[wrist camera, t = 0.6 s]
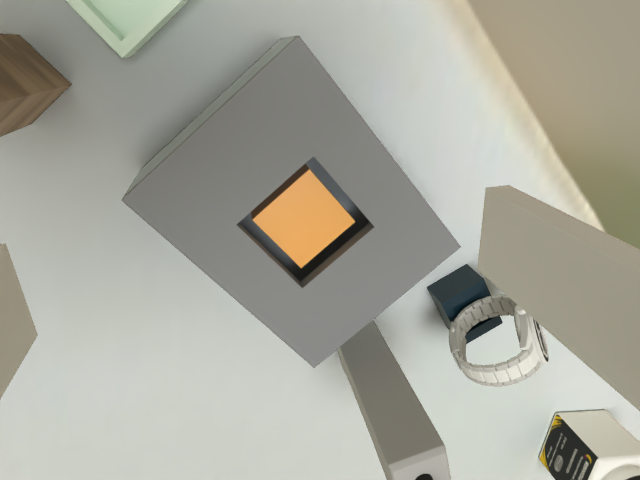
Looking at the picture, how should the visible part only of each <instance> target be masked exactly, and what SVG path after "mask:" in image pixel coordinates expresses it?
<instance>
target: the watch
mask: <svg viewBox="0 0 640 480" xmlns="http://www.w3.org/2000/svg"><path fill="white" fill-rule="evenodd" d="M427 289H428V291H429V293H430V294H431V296H432V298H433V300H434V302H435V304H436V306H437V308H438V310H439V312H440V314H441V316H442V318H443V320H444V322H445V324H446V326H447V328H448V329H449V345H450V350H451V353H452V355H453V358H454V360H455V362H456V364H457V365H458V367H459V369H460V370H462V371H463V373H464V374H465V375H466V376H467V377H468V378H469V379H471V380H472V381H474V382H476V383H479V384H482V385H486V386H491V385H492V386H494V387H501V386H503V385H504V386H508V385H513V384H515V382H516V383H519V382H521V381H523V380H525V379H527V378H528V377H530V376H532V375H533V374H537V373H538V372H539V370H540V368H541V366H542V362H543V363H548V350H547V344H546V339H545V335H544V331H543V327H542V326H541V325H540V324H539V323H538V322H537V321H536V320H535V319H533V318H532V317H531V316H530V315H529V314H528V313H527V312H525V311H524V310H523V309H522V308H521V307H520V306H518V305H517V304H516V303H515V302H514V301H513V300H512V299H510V298H509V297H508V296H507V295H503V296H502V295H494V296H492V297H491V295H490V292H489V290H488V288H487V285H486V283H485V281H484V279H483V278H482V277H481V276H480V275H479V274H477V273H476V272H475V271H474V270H473V269H472V268H471V267H469V266H468V265H467V264H466V265H464V266H462V267H461V268H459V269H457V270H456V271H454V272H452V273H450V274H449V275H447V276H445V277H444V278H442V279H440V280H439V281H437V282H435V283H433V284H432V285H430V286H428V287H427ZM509 314H510V315H511V316H514V321H515V327H516V331H517V335H518V339H519V343H520V349H521V350H522V352H521V353H519V354H518V355H517V357H518V358H517V357H516V356H515V357H513V358H511V359H509V360H507V363H506V362H502V363H498V364H496V365H495V366H494V365H493V364H492V365H484V366H482V365H473V364H471V363H468V362H467V360H466V344H467V343H469V342H471V341H472V340H474V339H476V338H478V337H479V336H481V335H483V334H484V333H486V332H488V331H490V330H491V329H493V328H495V327H497V326H498V325H500V324H502V323H503V322H502V320H501V318H500V316H503V315H509ZM507 364H508V365H507ZM505 369H506V370H505ZM506 371H507V372H506ZM507 373H508V374H507ZM508 375H509V376H508ZM526 377H527V378H526Z"/></svg>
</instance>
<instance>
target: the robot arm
mask: <svg viewBox="0 0 640 480" xmlns="http://www.w3.org/2000/svg"><path fill="white" fill-rule="evenodd" d="M477 270H478V271H479V272H481V273H482V274H483V275H484V276H485V277H486V278H487V279H489V280H490V281H491V282H492V283H493V284H494V285H496V286H497V287H498V288H499V289H500V290H501V291H502V292H504V293H505V294H506V295H507V296H508V297H509V298H510V299H512V300H513V301H514V302H515V303H516V304H517V305H518V306H520V307H521V308H522V309H523V310H524V311H525V312H527V313H528V314H529V315H530V316H531V317H532V318H533V319H535V320H536V321H537V322H538V323H539V324H540V325H541V326H543V327H544V328H545V329H546V330H547V331H548V332H549V333H551V334H552V335H553V336H554V337H555V338H556V339H558V340H559V341H560V342H561V343H562V344H563V345H564V346H566V347H567V348H568V349H569V350H570V351H571V352H572V353H574V354H575V355H576V356H577V357H578V358H579V359H580V360H582V361H583V362H584V363H585V364H586V365H587V366H589V367H590V368H591V369H592V370H593V371H594V372H595V373H597V374H598V375H599V376H600V377H601V378H602V379H603V380H605V381H606V382H607V383H608V384H609V385H610V386H611V387H613V388H614V389H615V390H616V391H617V392H618V393H620V394H621V395H622V396H623V397H624V398H625V399H626V400H628V401H629V402H630V403H631V404H632V405H633V406H634V407H636V408H637V409H638V410H639V411H640V250H639V249H637V248H635V247H633V246H631V245H629V244H627V243H625V242H623V241H621V240H618V239H617V238H615V237H613V236H611V235H609V234H607V233H605V232H603V231H601V230H599V229H597V228H595V227H593V226H591V225H589V224H587V223H584V222H582V221H580V220H578V219H576V218H574V217H572V216H570V215H568V214H566V213H564V212H562V211H560V210H558V209H556V208H554V207H552V206H550V205H548V204H546V203H544V202H542V201H540V200H538V199H536V198H534V197H532V196H530V195H528V194H526V193H524V192H522V191H520V190H518V189H516V188H514V187H512V186H510V185H506V186H498V187H489V188H486V191H485V200H484V210H483V220H482V229H481V239H480V249H479V258H478V268H477ZM37 335H38V334H37V332H36V329H35V326H34V323H33V320H32V317H31V314H30V312H29V309H28V306H27V303H26V300H25V297H24V294H23V292H22V289H21V286H20V283H19V280H18V277H17V275H16V272H15V269H14V266H13V263H12V260H11V257H10V255H9V252H8V249H7V246H6V244H0V399H1V397H2V395H3V394H4V392H5V390H6V388H7V387H8V385H9V383H10V382H11V380H12V378H13V376H14V375H15V373H16V371H17V370H18V368H19V366H20V365H21V363H22V361H23V359H24V358H25V356H26V354H27V353H28V351H29V349H30V347H31V346H32V344H33V342H34V341H35V339H36V337H37Z"/></svg>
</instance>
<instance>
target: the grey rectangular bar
mask: <svg viewBox="0 0 640 480" xmlns="http://www.w3.org/2000/svg"><path fill="white" fill-rule="evenodd" d="M337 350H338V353H339V357H340V360H341V364H342V367H343V369H344V371H345V373H346V375H347V377H348V380H349V382H350V385H351V387H352V390H353V392H354V395H355V398H356V400H357V403H358V405H359V408H360V410H361V413H362V415H363V418H364V420H365V423H366V425H367V428H368V430H369V433H370V436H371V438H372V441H373V443H374V446H375V449H376V452H377V455H378V457H379V460H380V463H381V465H382V468H383V470H384V473H385V476H386V478H387V480H451V476H450V471H449V465H448V460H447V454H446V449H445V445H444V443H443V441H442V440H441V438H440V436H439V434H438V433H437V431H436V429H435V427H434V426H433V424H432V422H431V420H430V419H429V417H428V415H427V413H426V412H425V410H424V408H423V406H422V405H421V403H420V401H419V399H418V398H417V396H416V394H415V392H414V391H413V389H412V387H411V385H410V384H409V382H408V380H407V378H406V377H405V375H404V373H403V371H402V370H401V368H400V366H399V364H398V363H397V361H396V359H395V357H394V356H393V354H392V352H391V350H390V349H389V347H388V345H387V343H386V342H385V340H384V338H383V336H382V335H381V333H380V331H379V329H378V328H377V326H376V324H375V322H374V321H373V320H372V321H371V322H369V323H368V324H367V325H366V326H365V327H363V328H362V329H361V330H360V331H358V332H357V333H356V334H355V335H354V336H352V337H351V338H350V339H349V340H348V341H346V342H345V343H344V344H343V345H342V346H340V347H339V348H338V349H337Z"/></svg>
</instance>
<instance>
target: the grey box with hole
mask: <svg viewBox="0 0 640 480" xmlns="http://www.w3.org/2000/svg"><path fill="white" fill-rule="evenodd" d="M304 164H306V165H307V166H308V167H309V168H310V169H311V171H312V172H313V173H314V174H315V175H316V176H317V177H318V179H319V180H320V181H321V182H322V183H323V184H324V185H325V187H326V188H327V189H328V190H329V191H330V192H331V193H332V194H333V196H334V197H335V198H336V199H337V200H338V201H339V202H340V204H341V205H342V206H343V207H344V208H345V209H346V210H347V212H348V213H349V214H350V215H351V217H352V218H353V219H354V220H355V223H353V224H352V225H351V226H350V227H349V228H348V229H346V230H345V231H344V232H343V233H342V234H341V235H339V236H338V237H337V238H336V239H335V240H334V241H332V242H331V243H330V244H329V245H328V246H327V247H325V248H324V249H323V250H322V251H321V252H320V253H318V254H317V255H316V256H315V257H314V258H313V259H311V260H310V261H309V262H308V263H307V264H306V265H304V266H303V267H302V268H300V267H299V266H298V265H297V264H296V263H295V262H294V261H293V260H292V259H291V258H290V257H289V256H288V255H287V254H286V253H285V252H284V251H283V250H282V249H281V248H280V247H279V246H278V245H277V244H276V243H275V242H274V241H273V240H272V239H271V238H270V237H269V236H268V235H267V234H266V233H265V232H264V231H263V230H262V229H261V228H260V227H259V226H258V225H257V224H256V223H255V222H254V221H253V220H252V216H251V211H252V210H254V209H255V208H256V207H257V206H258V205H259V204H260V203H261V202H263V201H264V200H265V199H266V198H267V197H268V196H269V195H270V194H272V193H273V192H274V191H275V190H276V189H277V188H278V187H279V186H281V185H282V184H283V183H284V182H285V181H286V180H287V179H288V178H290V177H291V176H292V175H293V174H294V173H295V172H296V171H297V170H299V169H300V168H301V167H302V166H303V165H304ZM122 201H123V202H124V203H125V204H126V205H127V206H129V207H130V208H131V209H132V210H133V211H134V212H135V213H137V214H138V215H139V216H140V217H141V218H142V219H143V220H145V221H146V222H147V223H148V224H149V225H150V226H152V227H153V228H154V229H155V230H156V231H157V232H158V233H160V234H161V235H162V236H163V237H164V238H165V239H166V240H168V241H169V242H170V243H171V244H172V245H173V246H175V247H176V248H177V249H178V250H179V251H180V252H181V253H183V254H184V255H185V256H186V257H187V258H188V259H189V260H191V261H192V262H193V263H194V264H195V265H196V266H197V267H199V268H200V269H201V270H202V271H203V272H204V273H206V274H207V275H208V276H209V277H210V278H211V279H212V280H214V281H215V282H216V283H217V284H218V285H219V286H220V287H222V288H223V289H224V290H225V291H226V292H227V293H229V294H230V295H231V296H232V297H233V298H234V299H235V300H237V301H238V302H239V303H240V304H241V305H242V306H243V307H245V308H246V309H247V310H248V311H249V312H250V313H252V314H253V315H254V316H255V317H256V318H257V319H258V320H260V321H261V322H262V323H263V324H264V325H265V326H266V327H268V328H269V329H270V330H271V331H272V332H273V333H275V334H276V335H277V336H278V337H279V338H280V339H281V340H283V341H284V342H285V343H286V344H287V345H288V346H289V347H291V348H292V349H293V350H294V351H295V352H296V353H298V354H299V355H300V356H301V357H302V358H303V359H304V360H306V361H307V362H308V363H309V364H310V365H311V366H312V367H314V368H315V367H316V366H317V365H318V364H320V363H321V362H322V361H323V360H325V359H326V358H327V357H328V356H329V355H331V354H332V353H333V352H334V351H335V350H337V349H338V348H339V347H340V346H342V345H343V344H344V343H345V342H346V341H348V340H349V339H350V338H351V337H352V336H354V335H355V334H356V333H357V332H358V331H360V330H361V329H362V328H363V327H365V326H366V325H367V324H368V323H369V322H371V321H372V320H373V319H374V318H375V317H377V316H378V315H379V314H380V313H381V312H383V311H384V310H385V309H386V308H388V307H389V306H390V305H391V304H392V303H394V302H395V301H396V300H397V299H398V298H400V297H401V296H402V295H403V294H404V293H406V292H407V291H408V290H409V289H411V288H412V287H413V286H414V285H415V284H417V283H418V282H419V281H420V280H421V279H423V278H424V277H425V276H426V275H427V274H429V273H430V272H431V271H432V270H434V269H435V268H436V267H437V266H438V265H440V264H441V263H442V262H443V261H444V260H446V259H447V258H448V257H449V256H450V255H452V254H453V253H454V252H455V251H457V250H458V249H459V248H460V247H461V246H460V245H459V244H458V242H457V241H456V240H455V238H454V237H453V236H452V235H451V233H450V232H449V231H448V229H447V228H446V227H445V225H444V224H443V223H442V221H441V220H440V219H439V218H438V216H437V215H436V214H435V212H434V211H433V210H432V208H431V207H430V206H429V205H428V203H427V202H426V201H425V199H424V198H423V197H422V195H421V194H420V193H419V191H418V190H417V189H416V188H415V186H414V185H413V184H412V182H411V181H410V180H409V178H408V177H407V176H406V175H405V173H404V172H403V171H402V169H401V168H400V167H399V165H398V164H397V163H396V161H395V160H394V159H393V158H392V156H391V155H390V154H389V152H388V151H387V150H386V148H385V147H384V146H383V144H382V143H381V142H380V141H379V139H378V138H377V137H376V135H375V134H374V133H373V131H372V130H371V129H370V128H369V126H368V125H367V124H366V122H365V121H364V120H363V118H362V117H361V116H360V114H359V113H358V112H357V111H356V109H355V108H354V107H353V105H352V104H351V103H350V101H349V100H348V99H347V98H346V96H345V95H344V94H343V92H342V91H341V90H340V88H339V87H338V86H337V84H336V83H335V82H334V81H333V79H332V78H331V77H330V75H329V74H328V73H327V71H326V70H325V69H324V68H323V66H322V65H321V64H320V62H319V61H318V60H317V58H316V57H315V56H314V54H313V53H312V52H311V51H310V49H309V48H308V47H307V45H306V44H305V43H304V41H303V40H302V39H301V38H300V36H293V37H287V38H281V39H280V40H279V41H278V42H277V43H276V44H275V45H274V46H273V47H272V48H270V49H269V50H268V51H267V52H266V53H265V54H264V55H263V56H262V57H261V58H260V59H259V60H258V61H257V62H255V63H254V64H253V65H252V66H251V67H250V68H249V69H248V70H247V71H246V72H245V73H244V74H243V75H241V76H240V77H239V78H238V79H237V80H236V81H235V82H234V83H233V84H232V85H231V86H230V87H229V88H228V89H226V90H225V91H224V92H223V93H222V94H221V95H220V96H219V97H218V98H217V99H216V100H215V101H214V102H213V103H211V104H210V105H209V106H208V107H207V108H206V109H205V110H204V111H203V112H202V113H201V114H200V115H199V116H197V117H196V118H195V119H194V120H193V121H192V122H191V123H190V124H189V125H188V126H187V127H186V128H185V129H184V130H182V131H181V132H180V133H179V134H178V135H177V136H176V137H175V138H174V139H173V140H172V141H171V142H170V143H168V144H167V145H166V146H165V147H164V148H163V149H162V150H161V151H160V152H159V153H158V154H157V155H156V156H155V157H153V158H152V159H151V160H150V161H149V162H148V163H147V164H146V165H145V166H144V167H143V168H142V169H141V170H140V172H139V173H138V175H137V177H136V178H135V180H134V181H133V183H132V185H131V186H130V188H129V189H128V191H127V192H126V194H125V196H124V197H123V199H122Z"/></svg>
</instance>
